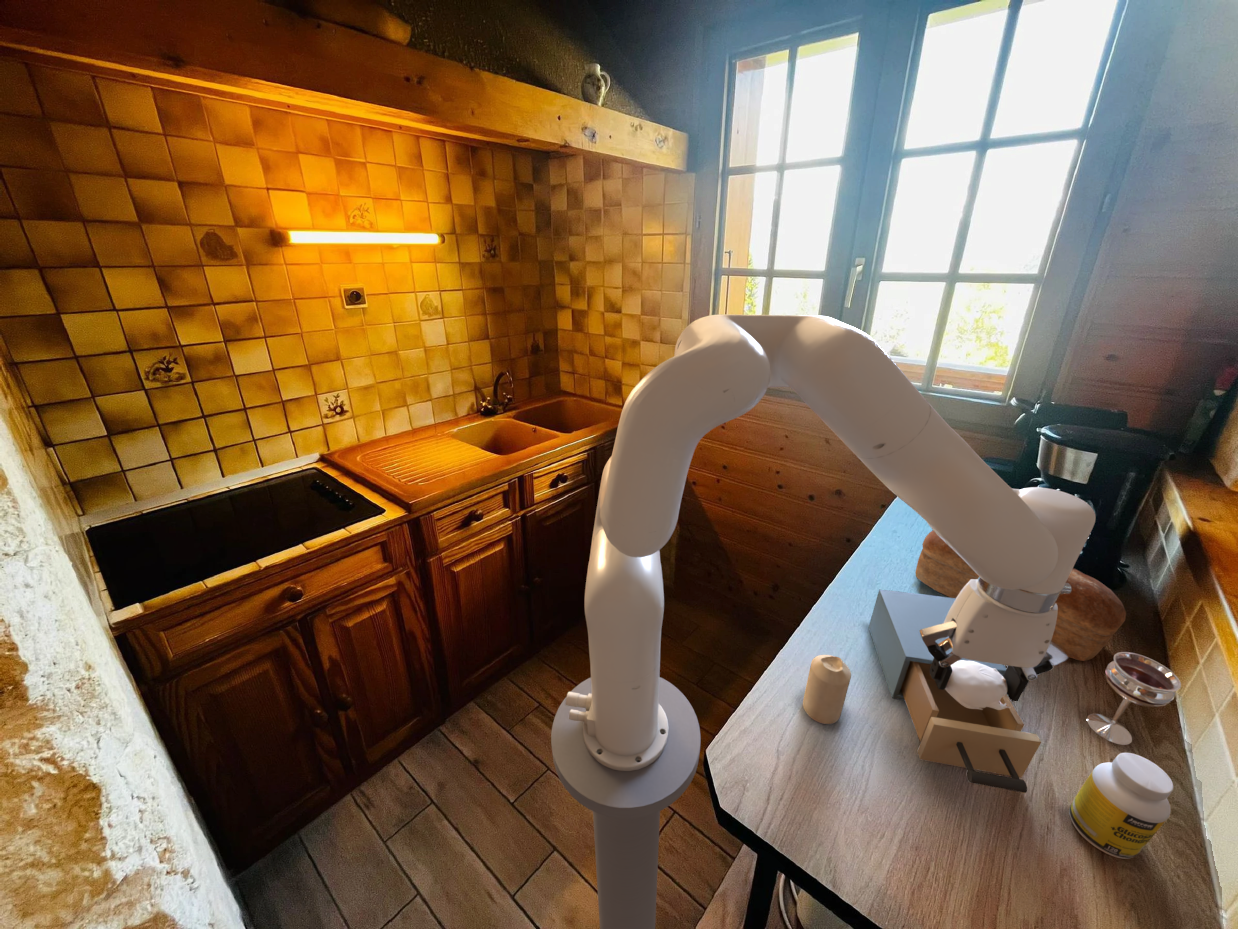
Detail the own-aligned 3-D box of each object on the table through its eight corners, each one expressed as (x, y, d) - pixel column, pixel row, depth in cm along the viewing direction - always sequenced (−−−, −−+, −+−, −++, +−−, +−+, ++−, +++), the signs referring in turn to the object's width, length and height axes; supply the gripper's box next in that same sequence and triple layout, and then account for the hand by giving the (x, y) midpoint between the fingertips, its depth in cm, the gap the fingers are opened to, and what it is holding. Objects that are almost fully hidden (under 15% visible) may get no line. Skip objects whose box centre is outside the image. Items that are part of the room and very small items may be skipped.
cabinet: (988, 713, 75) (1008, 671, 71) (891, 698, 77) (905, 656, 73) (949, 638, 88) (964, 599, 84) (868, 627, 91) (879, 589, 87)
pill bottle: (1081, 850, 58) (1124, 791, 53) (1057, 796, 64) (1093, 738, 59) (1150, 870, 56) (1201, 811, 51) (1119, 812, 62) (1162, 754, 57)
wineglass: (1153, 743, 70) (1195, 685, 65) (1118, 756, 68) (1159, 697, 63) (1100, 704, 76) (1134, 647, 71) (1067, 714, 74) (1100, 657, 69)
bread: (930, 558, 109) (947, 507, 104) (1112, 643, 87) (1147, 583, 81) (902, 579, 103) (919, 525, 97) (1091, 676, 80) (1127, 614, 75)
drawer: (1043, 819, 60) (1066, 783, 57) (933, 798, 63) (949, 762, 60) (974, 688, 78) (989, 654, 75) (890, 675, 80) (901, 642, 77)
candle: (822, 688, 79) (833, 643, 75) (848, 717, 74) (861, 670, 70) (794, 700, 77) (804, 654, 73) (820, 730, 73) (832, 682, 68)
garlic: (981, 670, 71) (990, 651, 69) (1016, 712, 65) (1027, 692, 63) (927, 671, 70) (934, 652, 69) (957, 713, 64) (966, 693, 63)
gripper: (1080, 576, 61) (1030, 675, 69) (927, 558, 64) (895, 655, 72) (1122, 618, 54) (1061, 723, 62) (949, 596, 58) (911, 698, 65)
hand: (972, 686), depth 67 cm, fingers closed on garlic, 8 cm apart
